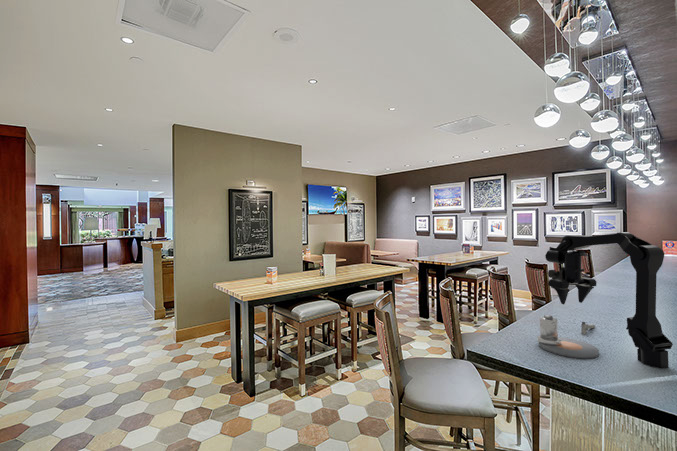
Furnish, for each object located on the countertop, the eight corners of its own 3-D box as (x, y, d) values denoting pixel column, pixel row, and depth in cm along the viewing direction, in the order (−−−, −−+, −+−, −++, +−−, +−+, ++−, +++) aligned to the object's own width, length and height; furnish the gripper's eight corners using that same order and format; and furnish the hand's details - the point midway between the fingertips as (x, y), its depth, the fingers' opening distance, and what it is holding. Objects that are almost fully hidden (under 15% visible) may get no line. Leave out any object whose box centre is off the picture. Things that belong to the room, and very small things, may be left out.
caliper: (584, 337, 131) (584, 322, 131) (581, 337, 132) (581, 322, 132) (595, 327, 144) (594, 313, 144) (592, 326, 145) (591, 313, 145)
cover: (566, 345, 116) (565, 318, 116) (548, 346, 115) (548, 319, 115) (549, 338, 124) (548, 313, 124) (532, 339, 122) (531, 314, 123)
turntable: (612, 355, 109) (612, 352, 109) (568, 360, 106) (568, 357, 106) (566, 338, 127) (566, 335, 127) (527, 342, 123) (527, 339, 123)
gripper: (571, 261, 138) (570, 296, 139) (537, 263, 134) (536, 299, 134) (598, 266, 127) (597, 303, 128) (561, 268, 123) (560, 307, 124)
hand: (571, 303), depth 129 cm, fingers open, 9 cm apart
